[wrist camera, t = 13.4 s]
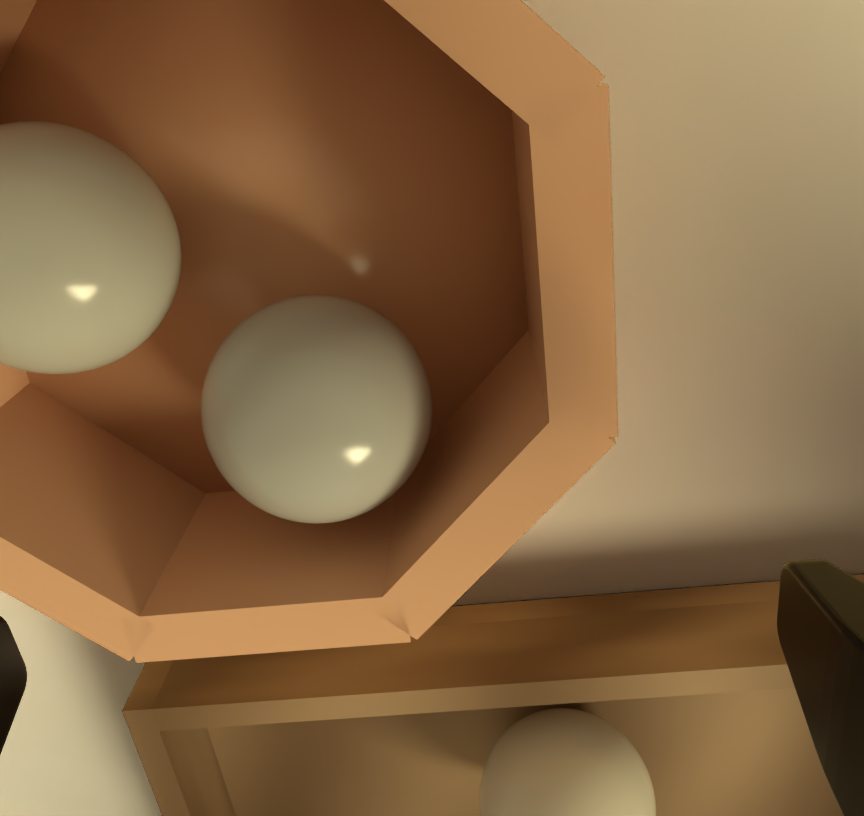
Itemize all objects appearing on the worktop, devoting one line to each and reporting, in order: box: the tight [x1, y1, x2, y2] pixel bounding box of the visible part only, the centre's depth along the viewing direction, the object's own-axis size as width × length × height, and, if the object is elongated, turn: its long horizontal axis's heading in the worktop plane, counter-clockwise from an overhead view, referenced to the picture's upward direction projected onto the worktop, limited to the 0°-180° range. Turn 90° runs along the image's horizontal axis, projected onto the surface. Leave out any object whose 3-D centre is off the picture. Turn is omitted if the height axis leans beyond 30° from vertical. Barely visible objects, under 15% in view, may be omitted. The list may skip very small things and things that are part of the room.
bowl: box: [0, 0, 618, 663], centre depth 12 cm, size 11×11×4 cm
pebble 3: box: [479, 708, 656, 816], centre depth 17 cm, size 4×4×4 cm
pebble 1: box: [0, 121, 182, 374], centre depth 12 cm, size 4×4×4 cm
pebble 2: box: [201, 294, 433, 524], centre depth 13 cm, size 4×4×4 cm
